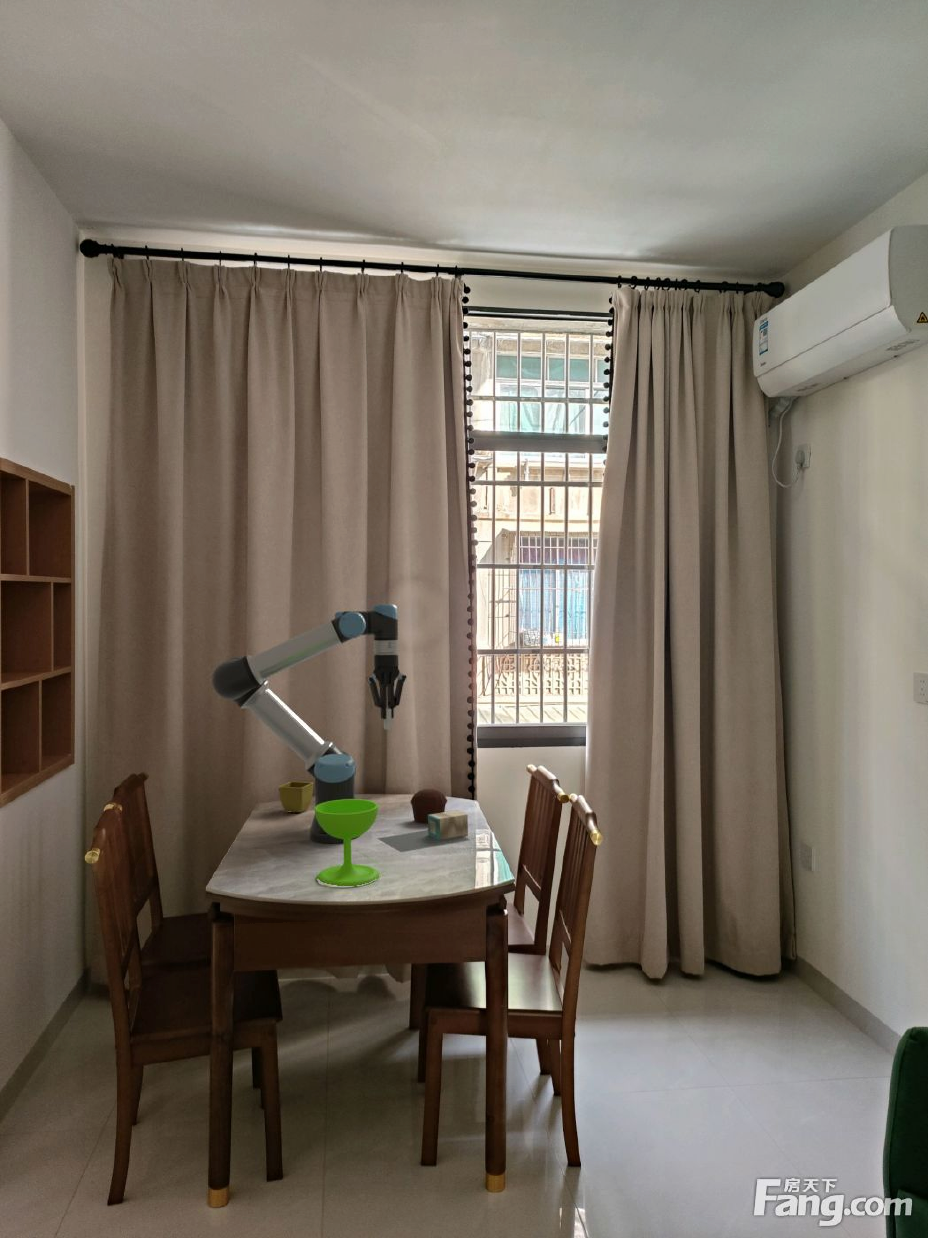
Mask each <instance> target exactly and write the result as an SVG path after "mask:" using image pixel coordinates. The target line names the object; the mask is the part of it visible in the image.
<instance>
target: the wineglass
mask: <svg viewBox="0 0 928 1238" xmlns="http://www.w3.org/2000/svg"><path fill="white" fill-rule="evenodd" d="M378 811H379V804H378V802H376V801H372V800H369V799H360V798H359V799H358V798H355V799H343V800H334V801H328V802H324V803H321V804H319V805H317V806H315V805H314V815H315V816H316V819H317V821H318V823H319V825H320V826H321V827H322V828H323V830H324V831H325V832H326V833H328V834H329V835H331V836H333V837H336V838H340V839H343V842H342V843H343V863H342V864H340V865H335V866H334V865H333V866H330V867H327V868H325V869H323V870H322V871H320V872H319V873H318V874H317V875H316V877H317V879H319V880H320V881H321V882H323V883H327V884H331V885H337V886H357V885H362V884H365V883H369V882H371V881H373V880H375V879H378V878H380V877H379V875H380V872H379V871H378V870H377V869H376V868H374V867H372V866H368V865H365V864H364V865H363V864H354V863H352V840H351V839H352V838H355V837H358V836H360V837H361V836H363V835H364V834H365V833H366V832H367V831H369V830H370V829H371V827H372V826H373V824H374V823H375V822H376V819H377V816H378V815H379V814H378ZM358 838H359V837H358ZM378 880H379V879H378Z"/></svg>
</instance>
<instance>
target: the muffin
mask: <svg viewBox="0 0 928 1238" xmlns="http://www.w3.org/2000/svg"><path fill="white" fill-rule="evenodd" d="M409 801H410V804H411V809H412V814H413V821H414V822H416V824H423V825H428V815H430V814H437V813H443V812H446V804H447V803H448V799H447V797H446V796H445V794H443V792H440V791H439V790H437V789H433V788H426V789H422V790H419V791H417V792H415V793H414V794H413V796H412V798H411V800H409Z"/></svg>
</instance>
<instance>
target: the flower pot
mask: <svg viewBox="0 0 928 1238" xmlns="http://www.w3.org/2000/svg"><path fill="white" fill-rule="evenodd" d="M277 789H278V792H279V799H280V803H281V806H282V807H283V809H284V810H285V812H286V811H291V812H301V813H303V812H305V811H308V809H309V807H310V805H311V802H312V798H313V793H314V782H309V781H308V782H307V781H289V782H286V783H284V784H282V785H280V786H278V788H277ZM302 811H303V812H302Z"/></svg>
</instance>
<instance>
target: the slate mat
mask: <svg viewBox="0 0 928 1238" xmlns="http://www.w3.org/2000/svg"><path fill="white" fill-rule="evenodd" d="M377 839H378V840H380V841H381V842H383V843H384V844H386V845H388V846H390V847H391V848H394V849H395V850H396V851H398V852H401V853H404V852H411V851H414V850H421V849H427V848H432V847H433V848H434V847H438V846H443V845H450V844H456V843H462V842H466V841H471V839H469V838H468V837H465V836H458V837H452V838H446V839H440V840H437V839H435V838H433V837H431V836H429V835H428V829H426V830H419V831H414V832H408V833H401V834H396V835H389V836H383V837H378V838H377Z"/></svg>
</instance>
